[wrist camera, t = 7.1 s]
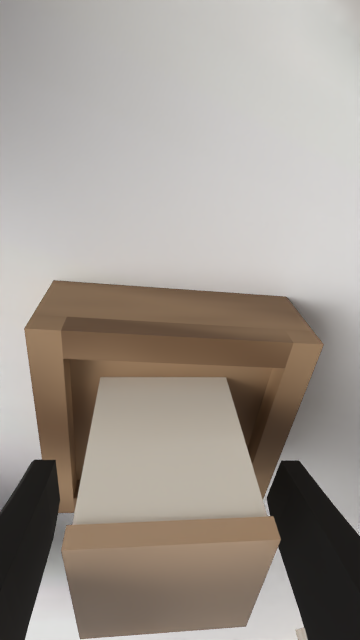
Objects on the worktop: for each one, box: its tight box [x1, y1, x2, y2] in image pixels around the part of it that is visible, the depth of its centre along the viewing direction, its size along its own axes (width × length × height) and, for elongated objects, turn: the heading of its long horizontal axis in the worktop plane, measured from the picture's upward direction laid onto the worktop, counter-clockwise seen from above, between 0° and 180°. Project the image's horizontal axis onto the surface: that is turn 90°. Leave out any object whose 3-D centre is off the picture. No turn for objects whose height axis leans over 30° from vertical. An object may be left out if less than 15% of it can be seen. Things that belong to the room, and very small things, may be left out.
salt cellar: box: [61, 377, 281, 639], centre depth 11 cm, size 5×5×6 cm
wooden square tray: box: [24, 281, 324, 513], centre depth 14 cm, size 9×9×4 cm
